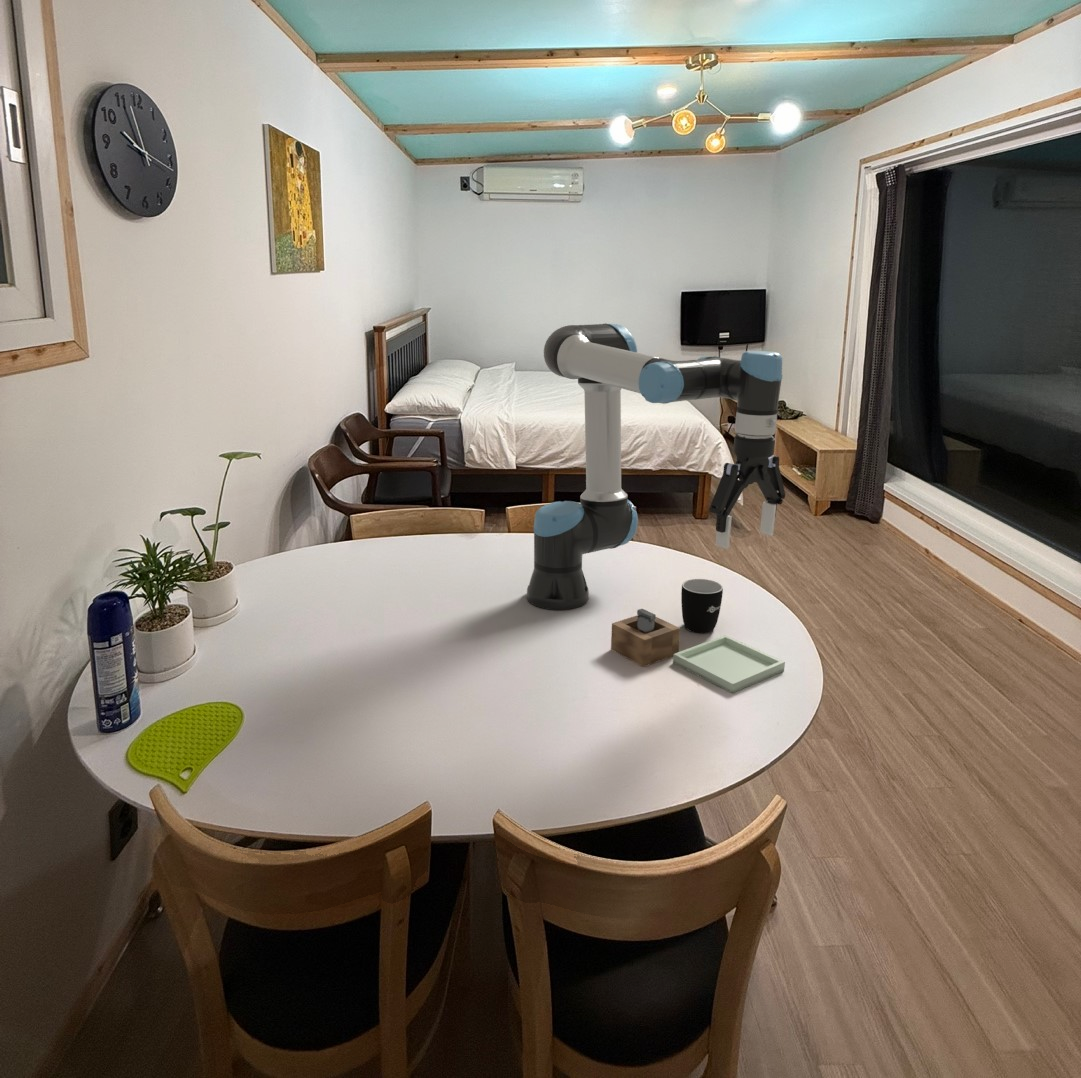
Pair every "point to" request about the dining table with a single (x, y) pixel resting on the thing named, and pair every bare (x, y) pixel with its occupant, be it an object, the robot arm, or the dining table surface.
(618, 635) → the wooden open box
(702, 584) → the mug
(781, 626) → the dining table surface
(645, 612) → the dark grey upright block
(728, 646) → the tray
